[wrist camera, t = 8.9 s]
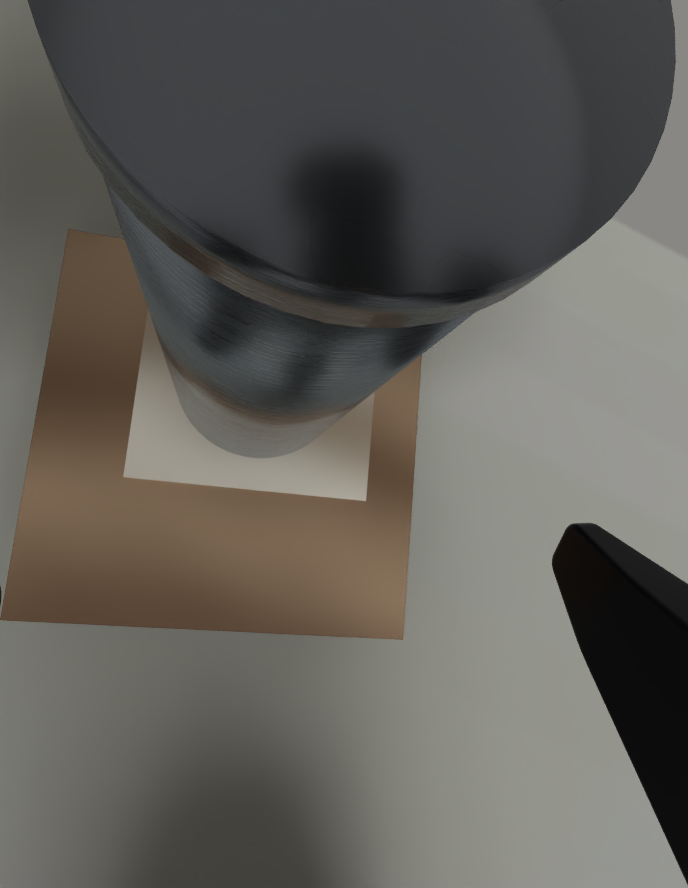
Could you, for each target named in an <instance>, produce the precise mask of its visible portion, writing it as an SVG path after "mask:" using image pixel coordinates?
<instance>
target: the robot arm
mask: <svg viewBox="0 0 688 888" xmlns="http://www.w3.org/2000/svg"><path fill="white" fill-rule="evenodd" d="M552 567H553V571H554V574H555V577H556V580H557V583H558V586H559V589H560V592H561V595H562V598H563V601H564V604H565V607H566V609H567V612H568V615H569V618H570V621H571V624H572V627H573V630H574V633H575V636H576V639H577V641H578V644H579V647H580V649H581V652H582V654H583V656H584V659H585V661H586V663H587V666H588V668H589V670H590V672H591V674H592V677H593V679H594V681H595V683H596V685H597V687H598V690H599V692H600V694H601V696H602V698H603V701H604V703H605V705H606V707H607V709H608V712H609V714H610V716H611V718H612V720H613V722H614V725H615V727H616V729H617V731H618V733H619V736H620V738H621V740H622V742H623V744H624V747H625V749H626V751H627V753H628V755H629V757H630V760H631V762H632V764H633V766H634V768H635V771H636V773H637V775H638V777H639V779H640V782H641V784H642V786H643V788H644V790H645V792H646V795H647V797H648V799H649V801H650V803H651V806H652V808H653V810H654V812H655V814H656V817H657V819H658V821H659V823H660V825H661V827H662V830H663V832H664V834H665V836H666V838H667V841H668V843H669V845H670V847H671V849H672V852H673V854H674V856H675V858H676V860H677V862H678V865H679V867H680V869H681V871H682V873H683V876H684V878H685V880H686V882H687V884H688V584H687V583H685V582H684V581H682V580H681V579H679V578H678V577H676V576H675V575H673V574H672V573H670V572H668V571H667V570H665V569H664V568H662V567H661V566H659V565H658V564H656V563H655V562H653V561H652V560H650V559H648V558H647V557H645V556H644V555H642V554H641V553H639V552H638V551H636V550H635V549H633V548H632V547H630V546H628V545H627V544H625V543H624V542H622V541H621V540H619V539H618V538H616V537H615V536H613V535H612V534H610V533H608V532H607V531H605V530H604V529H602V528H601V527H599V526H598V525H596V524H593V523H576V524H571V525H569V526H568V527H567V528H566V530H565V532H564V534H563V536H562V538H561V540H560V542H559V544H558V546H557V548H556V550H555V552H554V555H553V558H552ZM0 604H1V587H0Z"/></svg>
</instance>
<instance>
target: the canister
mask: <svg viewBox="0 0 688 888" xmlns="http://www.w3.org/2000/svg"><path fill="white" fill-rule="evenodd" d="M28 3H29V6H30V9H31V12H32V15H33V18H34V21H35V24H36V28H37V30H38V33H39V36H40V38H41V41H42V44H43V46H44V49H45V52H46V55H47V57H48V60H49V63H50V65H51V68H52V71H53V73H54V76H55V79H56V81H57V84H58V87H59V89H60V92H61V95H62V98H63V100H64V103H65V106H66V108H67V111H68V113H69V115H70V118H71V120H72V122H73V124H74V126H75V128H76V130H77V132H78V134H79V136H80V138H81V140H82V142H83V144H84V146H85V148H86V151H87V152H88V154H89V155H90V157H91V158H92V160H93V161H94V163H95V164H96V166H97V167H98V169H99V170H100V172H101V173H102V175H103V177H104V180H105V183H106V186H107V189H108V192H109V195H110V198H111V200H112V203H113V206H114V209H115V212H116V215H117V218H118V221H119V224H120V227H121V230H122V233H123V236H124V239H125V242H126V245H127V248H128V251H129V254H130V257H131V260H132V263H133V266H134V269H135V272H136V275H137V278H138V280H139V283H140V286H141V289H142V292H143V295H144V298H145V301H146V304H147V307H148V310H149V313H150V316H151V319H152V322H153V325H154V328H155V331H156V334H157V337H158V340H159V343H160V346H161V349H162V352H163V355H164V357H165V360H166V363H167V366H168V369H169V372H170V375H171V378H172V381H173V384H174V387H175V390H176V393H177V396H178V399H179V402H180V405H181V407H182V409H183V411H184V413H185V415H186V416H187V418H188V419H189V421H190V422H191V424H192V425H193V426H194V427H195V428H196V429H197V431H198V432H199V433H200V434H202V435H203V436H204V437H205V438H206V439H207V440H209V441H210V442H212V443H213V444H214V445H216V446H218V447H220V448H222V449H224V450H226V451H228V452H231V453H234V454H236V455H240V456H245V457H251V458H272V457H278V456H283V455H286V454H289V453H292V452H295V451H297V450H299V449H301V448H303V447H304V446H306V445H307V444H309V443H311V442H312V441H313V440H314V439H316V438H317V437H318V436H320V435H321V434H322V433H323V432H325V431H326V430H327V429H328V428H330V427H331V426H332V425H333V424H335V423H336V422H337V421H338V420H340V419H341V418H342V417H344V416H345V415H346V414H347V413H349V412H350V411H351V410H352V409H354V408H355V407H356V406H357V405H359V404H360V403H361V402H362V401H364V400H365V399H366V398H367V397H369V396H370V395H371V394H373V393H374V392H375V391H376V390H378V389H379V388H380V387H381V386H383V385H384V384H385V383H386V382H388V381H389V380H390V379H391V378H393V377H394V376H395V375H397V374H398V373H399V372H400V371H402V370H403V369H404V368H405V367H407V366H408V365H409V364H410V363H412V362H413V361H414V360H415V359H417V358H418V357H419V356H420V355H422V354H423V353H424V352H426V351H427V350H428V349H429V348H431V347H432V346H433V345H434V344H436V343H437V342H438V341H439V340H441V339H442V338H443V337H444V336H446V335H447V334H448V333H450V332H451V331H452V330H453V329H455V328H456V327H457V326H458V325H460V324H461V323H462V322H463V321H465V320H466V319H467V318H468V317H470V316H471V315H472V314H473V313H475V312H477V311H479V310H481V309H483V308H486V307H488V306H490V305H492V304H495V303H497V302H499V301H501V300H503V299H505V298H507V297H508V296H510V295H511V294H513V293H514V292H516V291H518V290H519V289H521V288H522V287H524V286H525V285H527V284H528V283H530V282H531V281H533V280H534V279H535V278H537V277H538V276H539V275H541V274H542V273H543V272H545V271H546V270H547V269H549V268H550V267H551V266H553V265H554V264H556V263H557V262H558V261H560V260H561V259H562V258H564V257H565V256H566V255H568V254H569V253H570V252H572V251H573V250H574V249H576V248H577V247H578V246H580V245H581V244H582V243H584V242H585V241H586V240H587V239H588V238H590V237H591V236H592V235H593V234H594V233H595V232H596V231H597V230H599V229H600V228H601V227H602V226H603V225H604V224H605V223H606V222H608V221H609V220H610V219H611V218H612V217H613V216H614V215H615V213H616V212H617V211H618V210H619V208H620V207H621V206H622V205H623V204H624V202H625V201H626V200H627V199H628V198H629V196H630V195H631V194H632V193H633V191H634V190H635V188H636V187H637V185H638V183H639V182H640V179H641V178H642V176H643V175H644V173H645V171H646V170H647V168H648V166H649V165H650V163H651V161H652V159H653V156H654V154H655V151H656V149H657V146H658V144H659V141H660V139H661V136H662V134H663V131H664V128H665V124H666V120H667V116H668V111H669V107H670V103H671V99H672V92H673V82H674V72H675V62H676V60H675V27H674V20H673V13H672V6H671V0H28Z"/></svg>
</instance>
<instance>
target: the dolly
mask: <svg viewBox="0 0 688 888" xmlns="http://www.w3.org/2000/svg"><path fill="white" fill-rule="evenodd" d="M421 358H422V355H420V356H419V357H418V358H417V359H415V360H414V361H413V362H412V363H410V364H409V365H408V366H407V367H405V368H404V369H403V370H402V371H400V372H399V373H398V374H397V375H395V376H394V377H393V378H391V379H390V380H389V381H388V382H386V383H385V384H384V385H383V386H381V387H380V388H379V389H378V390H376V391H375V392H374V393H373V394H371V395H370V396H369V397H367V398H366V399H365V400H364V401H362V402H361V403H360V404H359V405H357V406H356V407H355V408H354V409H352V410H351V411H350V412H349V413H347V414H346V415H345V416H344V417H342V418H341V419H340V420H338V421H337V422H336V423H335V424H333V425H332V426H331V427H330V428H328V429H327V430H326V431H325V432H323V433H322V434H321V435H320V436H318V437H317V438H316V439H314V440H313V441H312V442H311V443H309V444H307V445H306V446H304V447H303V448H301V449H299V450H297V451H295V452H292V453H289V454H286V455H283V456H278V457H272V458H251V457H245V456H240V455H236V454H234V453H231V452H228V451H226V450H224V449H222V448H220V447H218V446H216V445H214V444H213V443H212V442H210V441H209V440H207V439H206V438H205V437H204V436H203V435H202V434H200V433H199V432H198V431H197V429H196V428H195V427H194V426H193V425H192V424H191V422H190V421H189V419H188V418H187V416H186V415H185V413H184V411H183V409H182V407H181V405H180V402H179V399H178V396H177V393H176V390H175V387H174V384H173V381H172V378H171V375H170V372H169V369H168V366H167V363H166V360H165V357H164V355H163V352H162V349H161V346H160V343H159V340H158V337H157V334H156V331H155V328H154V325H153V322H152V319H151V316H150V313H149V310H148V307H147V304H146V301H145V298H144V295H143V292H142V289H141V286H140V283H139V280H138V278H137V275H136V272H135V269H134V266H133V263H132V260H131V257H130V254H129V251H128V248H127V245H126V242H125V239H121V238H115V237H110V236H104V235H99V234H93V233H87V232H82V231H76V230H71V229H68V235H67V241H66V247H65V252H64V258H63V264H62V269H61V275H60V281H59V287H58V292H57V298H56V304H55V309H54V315H53V321H52V327H51V332H50V338H49V344H48V349H47V355H46V361H45V367H44V372H43V378H42V384H41V389H40V395H39V401H38V407H37V412H36V418H35V424H34V429H33V435H32V441H31V446H30V452H29V458H28V464H27V469H26V475H25V481H24V486H23V492H22V498H21V504H20V509H19V515H18V521H17V526H16V532H15V538H14V544H13V549H12V555H11V561H10V566H9V572H8V578H7V584H6V589H5V595H4V601H3V606H2V612H1V618H0V620H9V621H30V622H50V623H71V624H91V625H112V626H132V627H153V628H173V629H194V630H215V631H235V632H256V633H276V634H297V635H317V636H338V637H358V638H379V639H399V640H403V634H404V619H405V603H406V588H407V573H408V557H409V542H410V527H411V511H412V496H413V481H414V465H415V450H416V435H417V419H418V404H419V388H420V373H421Z"/></svg>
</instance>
